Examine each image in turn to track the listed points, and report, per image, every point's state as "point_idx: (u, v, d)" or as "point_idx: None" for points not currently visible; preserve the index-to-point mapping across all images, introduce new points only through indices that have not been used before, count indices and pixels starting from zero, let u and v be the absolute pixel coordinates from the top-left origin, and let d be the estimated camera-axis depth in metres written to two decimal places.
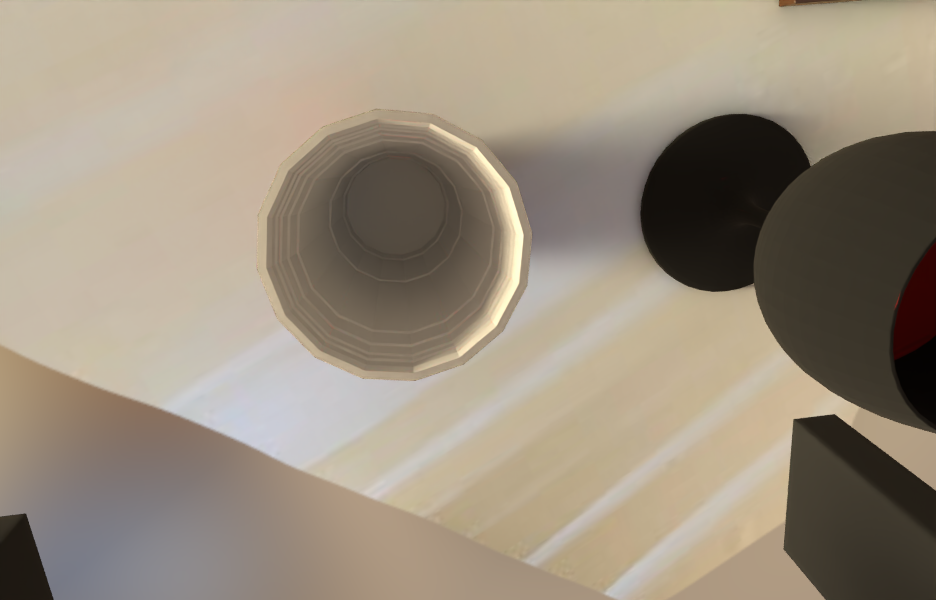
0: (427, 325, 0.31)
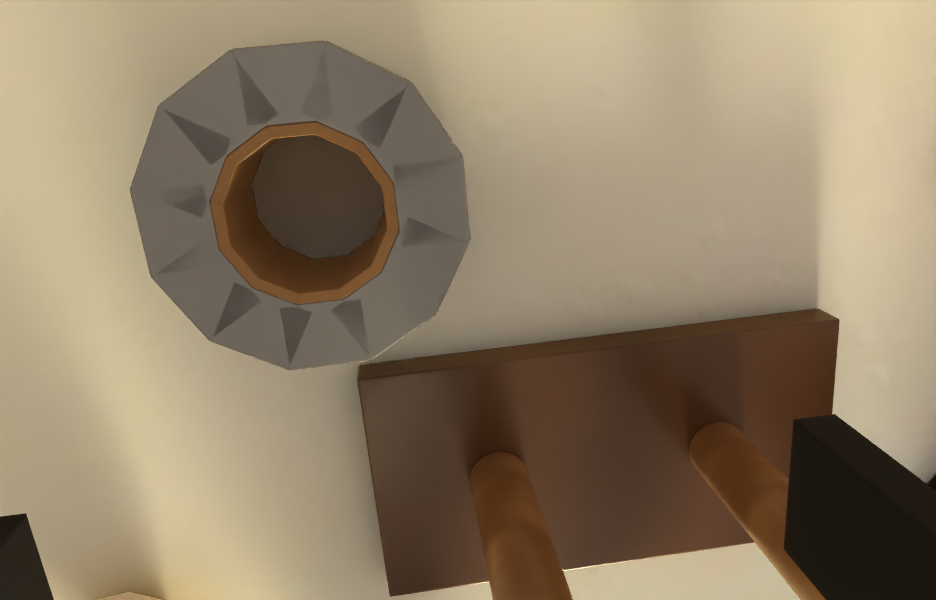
0: None
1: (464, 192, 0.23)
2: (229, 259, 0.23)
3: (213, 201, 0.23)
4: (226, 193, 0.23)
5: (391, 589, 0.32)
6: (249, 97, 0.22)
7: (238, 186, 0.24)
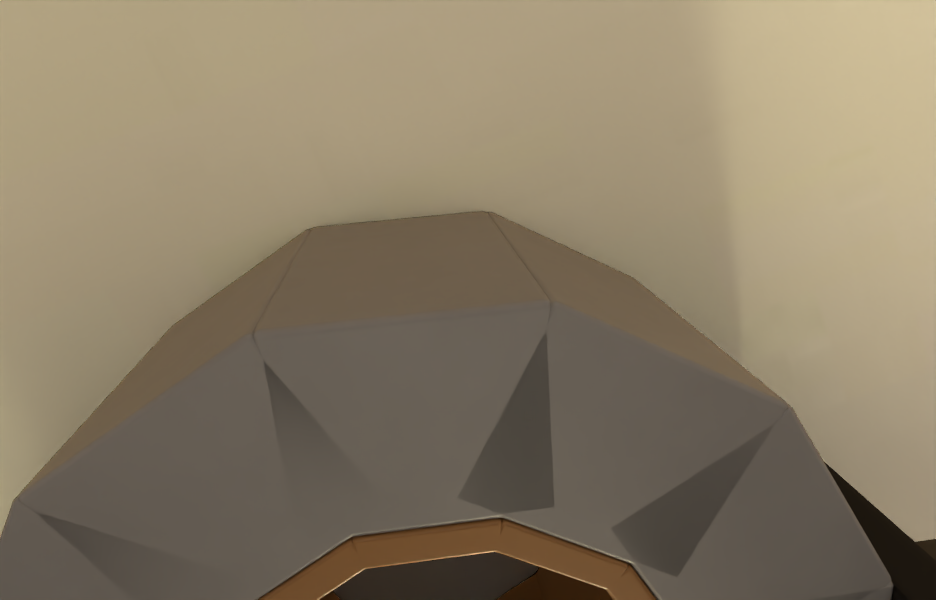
0: None
1: None
2: None
3: None
4: None
5: None
6: (304, 467, 0.07)
7: None
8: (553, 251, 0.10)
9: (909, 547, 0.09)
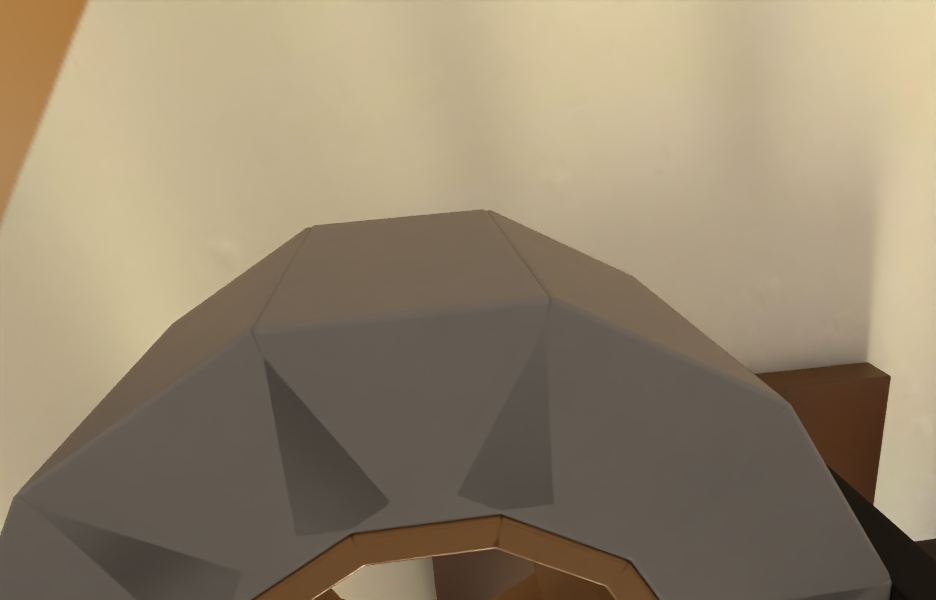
0: None
1: None
2: None
3: None
4: None
5: None
6: (304, 463, 0.07)
7: None
8: (552, 249, 0.10)
9: (908, 546, 0.09)
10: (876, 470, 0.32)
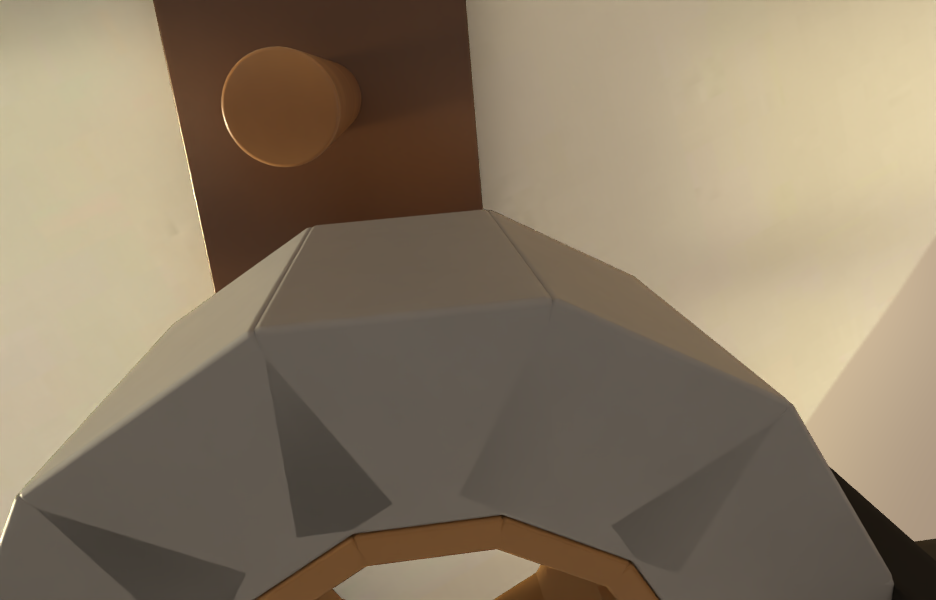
0: None
1: None
2: None
3: None
4: None
5: None
6: (306, 464, 0.07)
7: None
8: (554, 249, 0.10)
9: (908, 547, 0.09)
10: None
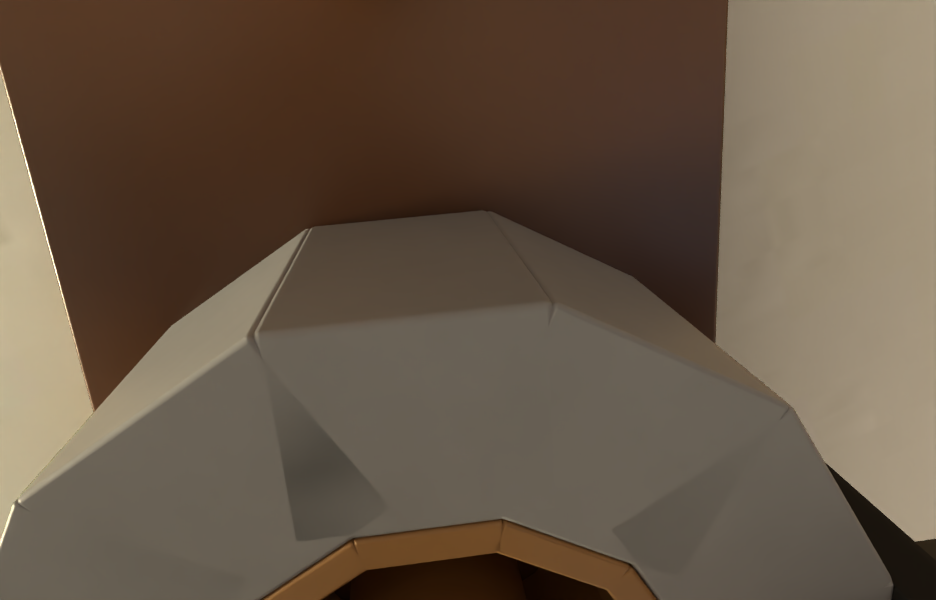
0: None
1: None
2: None
3: None
4: None
5: None
6: (305, 469, 0.07)
7: None
8: (553, 251, 0.10)
9: (909, 547, 0.09)
10: None
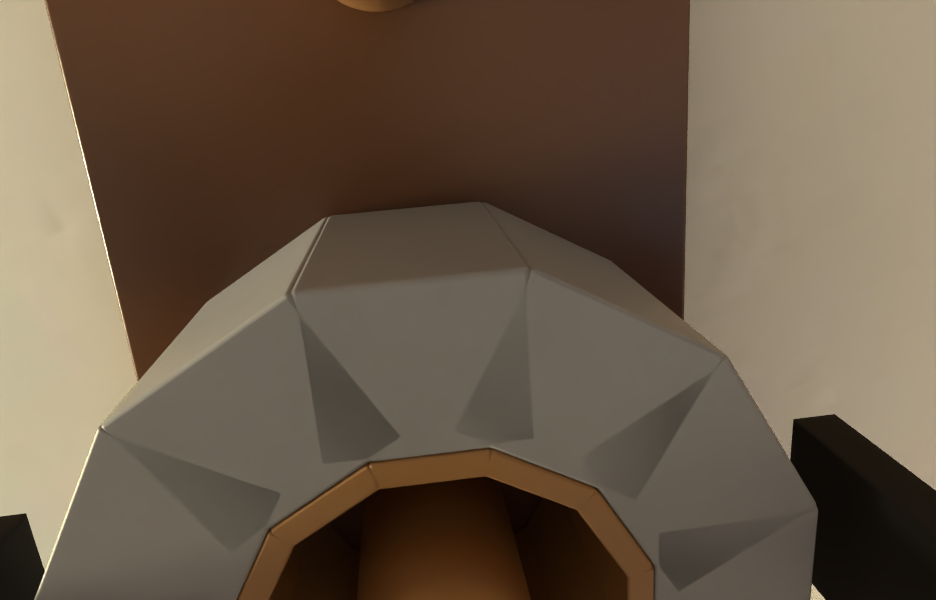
0: None
1: (810, 579, 0.10)
2: None
3: None
4: None
5: None
6: (330, 403, 0.09)
7: None
8: (538, 235, 0.12)
9: None
10: None
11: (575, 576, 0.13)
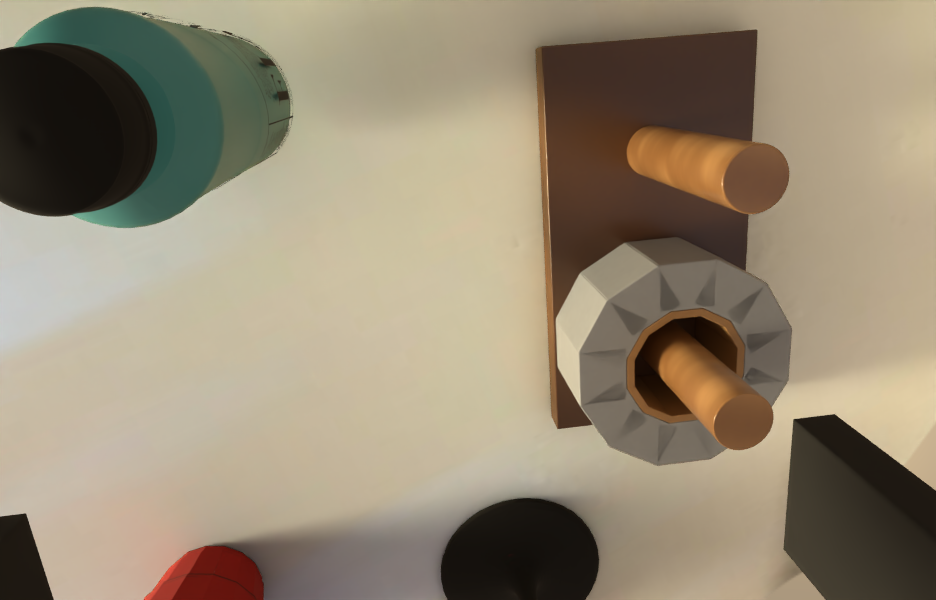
0: None
1: (789, 351, 0.35)
2: (632, 394, 0.34)
3: (629, 358, 0.34)
4: (637, 353, 0.34)
5: (549, 48, 0.34)
6: (664, 294, 0.33)
7: None
8: (701, 249, 0.36)
9: None
10: None
11: None
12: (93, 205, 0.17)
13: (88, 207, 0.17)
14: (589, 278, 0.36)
